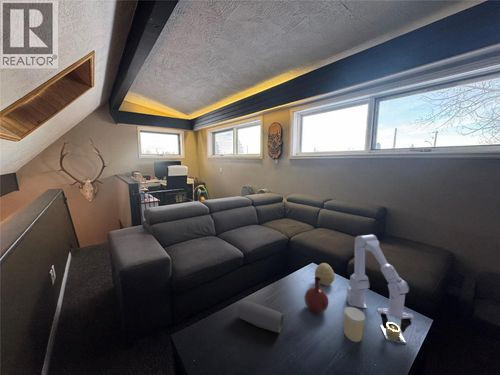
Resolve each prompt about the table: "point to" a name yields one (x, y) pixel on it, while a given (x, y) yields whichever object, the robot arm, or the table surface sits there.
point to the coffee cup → (354, 323)
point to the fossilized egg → (324, 274)
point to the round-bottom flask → (316, 298)
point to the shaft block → (388, 337)
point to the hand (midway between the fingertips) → (393, 329)
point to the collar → (392, 332)
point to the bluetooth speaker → (260, 316)
